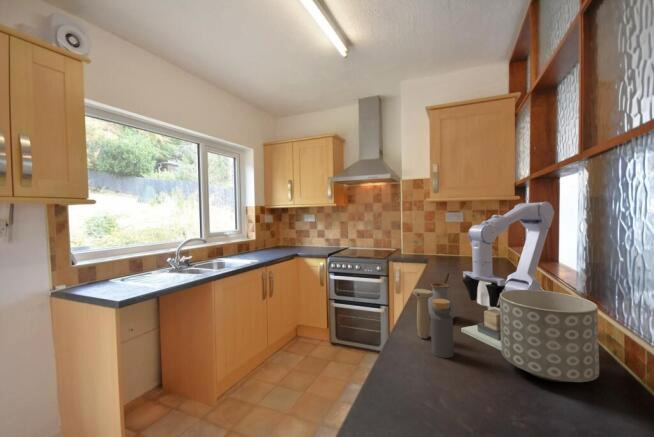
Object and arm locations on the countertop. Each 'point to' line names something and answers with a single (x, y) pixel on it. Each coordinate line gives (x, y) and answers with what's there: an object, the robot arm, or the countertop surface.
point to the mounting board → (482, 337)
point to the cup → (483, 294)
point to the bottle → (442, 329)
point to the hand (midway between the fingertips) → (483, 303)
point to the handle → (423, 311)
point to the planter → (550, 334)
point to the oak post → (492, 319)
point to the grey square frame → (489, 331)
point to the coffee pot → (441, 296)
